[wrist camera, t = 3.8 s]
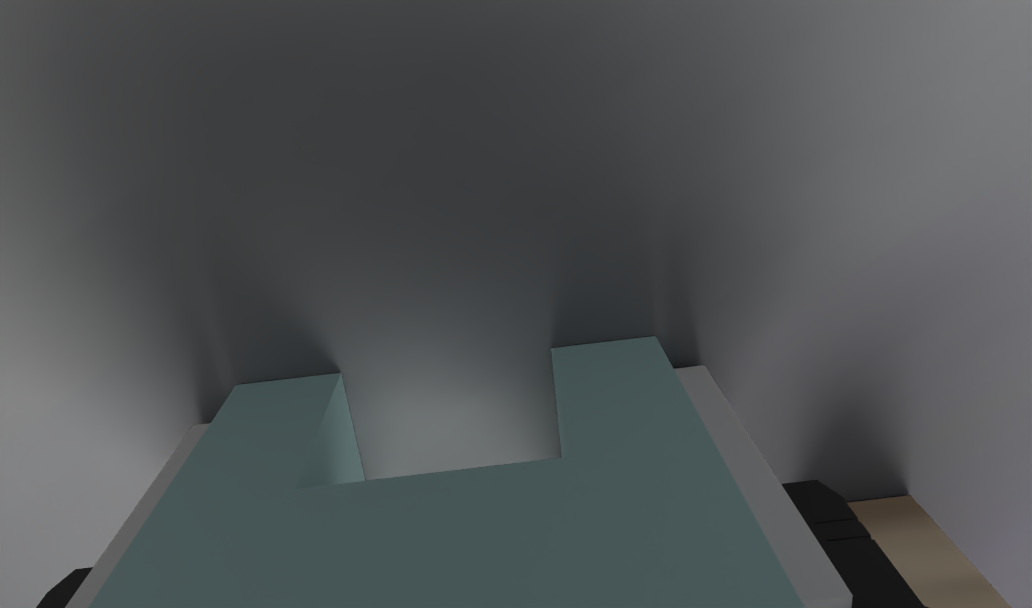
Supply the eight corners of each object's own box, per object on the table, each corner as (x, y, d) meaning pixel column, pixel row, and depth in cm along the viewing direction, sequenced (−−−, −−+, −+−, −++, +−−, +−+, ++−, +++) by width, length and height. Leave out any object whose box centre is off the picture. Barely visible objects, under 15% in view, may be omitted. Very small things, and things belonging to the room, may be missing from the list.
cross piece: (235, 385, 15) (-2, 742, 8) (655, 336, 15) (825, 644, 8) (279, 534, 17) (117, 953, 9) (661, 489, 17) (807, 871, 9)
